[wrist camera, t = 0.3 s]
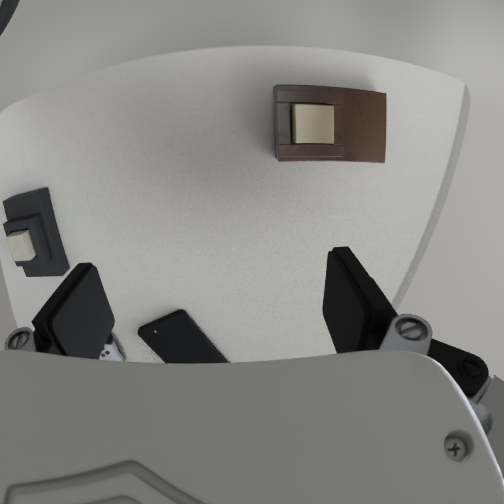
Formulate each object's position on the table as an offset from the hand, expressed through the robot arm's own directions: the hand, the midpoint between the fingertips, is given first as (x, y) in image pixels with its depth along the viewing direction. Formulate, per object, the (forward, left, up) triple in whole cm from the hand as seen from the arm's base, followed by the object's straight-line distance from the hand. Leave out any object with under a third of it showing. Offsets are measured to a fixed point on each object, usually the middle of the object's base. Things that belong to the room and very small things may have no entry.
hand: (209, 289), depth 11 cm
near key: (-5, +8, -18) cm, 21 cm away
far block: (+5, -28, -22) cm, 36 cm away
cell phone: (+28, -8, -22) cm, 36 cm away
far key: (+5, -28, -18) cm, 34 cm away
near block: (-5, +11, -22) cm, 25 cm away
